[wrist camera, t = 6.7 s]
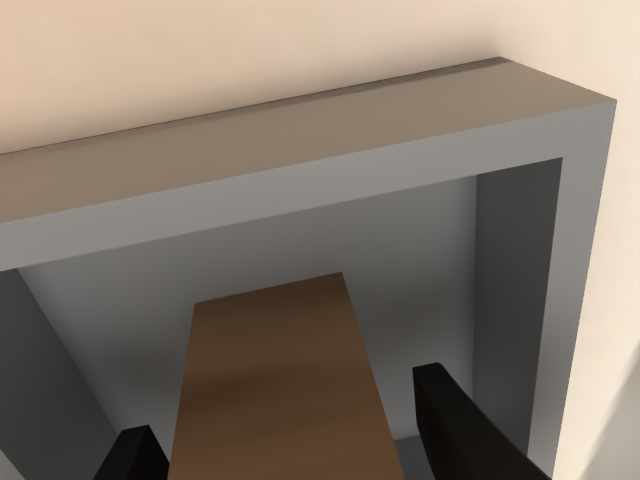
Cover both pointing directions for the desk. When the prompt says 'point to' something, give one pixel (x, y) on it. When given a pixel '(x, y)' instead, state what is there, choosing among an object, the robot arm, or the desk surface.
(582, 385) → the desk surface
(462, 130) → the grey bin
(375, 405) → the walnut block
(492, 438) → the robot arm
